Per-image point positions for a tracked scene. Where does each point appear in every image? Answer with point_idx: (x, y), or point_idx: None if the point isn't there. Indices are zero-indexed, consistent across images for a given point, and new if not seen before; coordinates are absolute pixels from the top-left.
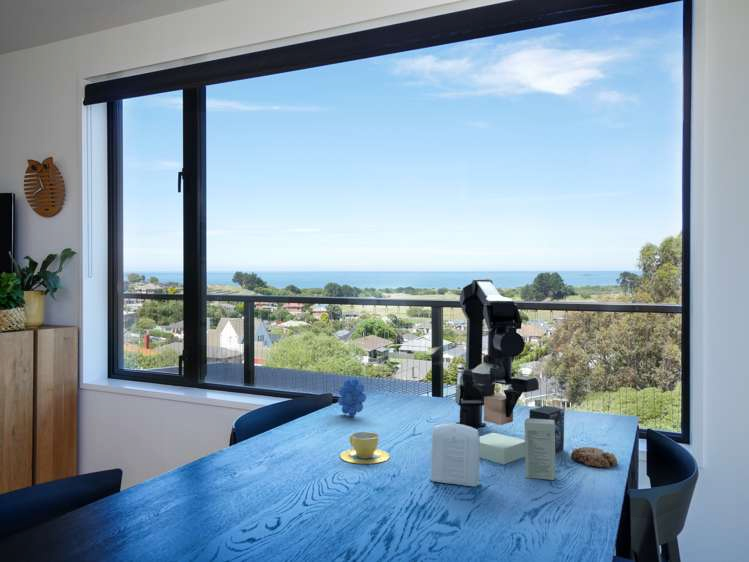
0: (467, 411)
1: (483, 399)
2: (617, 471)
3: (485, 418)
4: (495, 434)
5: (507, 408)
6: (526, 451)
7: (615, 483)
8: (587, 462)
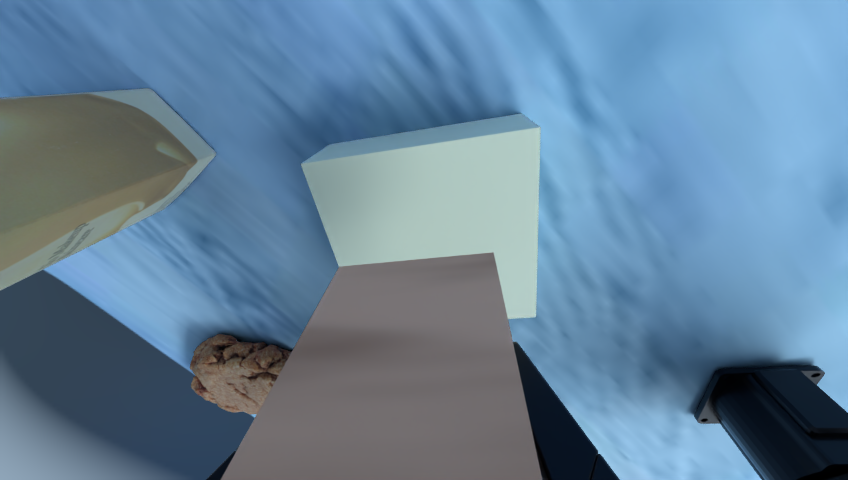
0: (813, 433)
1: (597, 456)
2: (171, 350)
3: (478, 266)
4: (508, 303)
5: None
6: (5, 99)
7: (76, 282)
8: (215, 340)
